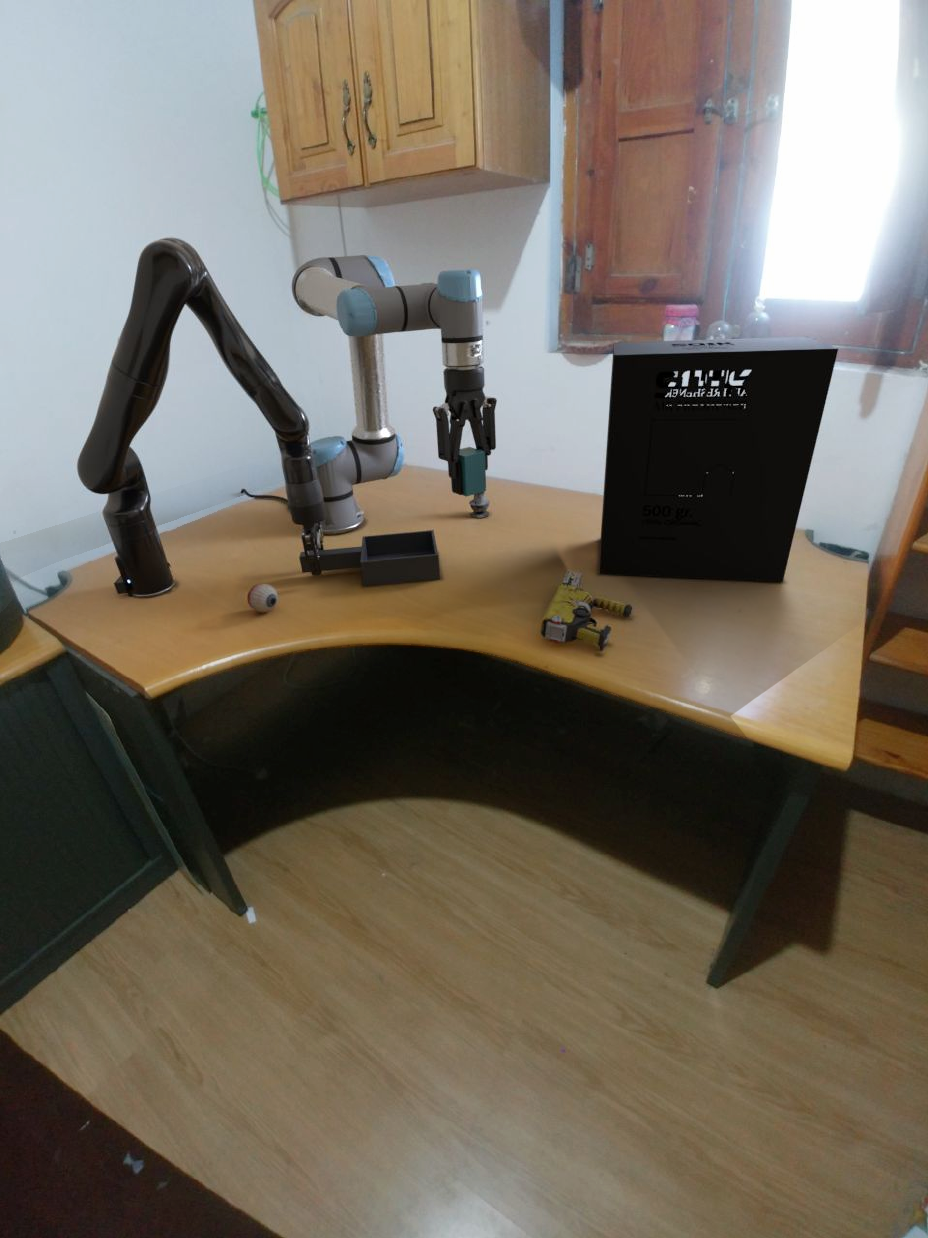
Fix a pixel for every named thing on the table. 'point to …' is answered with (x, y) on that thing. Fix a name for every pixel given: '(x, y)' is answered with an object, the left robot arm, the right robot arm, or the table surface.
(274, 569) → the table surface
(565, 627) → the toy gun
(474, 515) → the stone chess piece
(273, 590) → the eyeball
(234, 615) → the table surface
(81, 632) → the table surface
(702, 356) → the cardboard box
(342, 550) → the tray
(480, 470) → the block
